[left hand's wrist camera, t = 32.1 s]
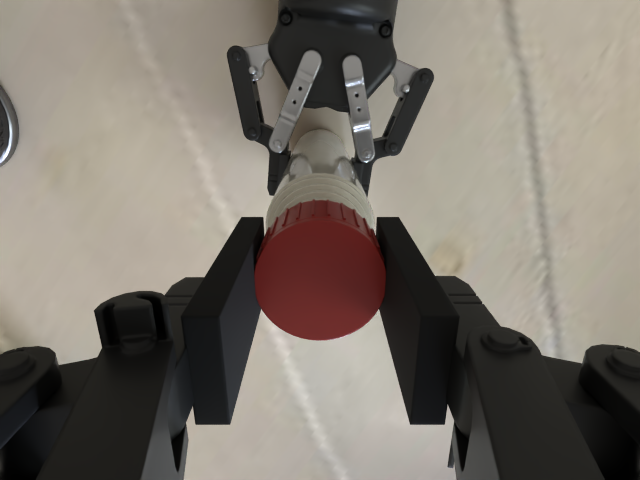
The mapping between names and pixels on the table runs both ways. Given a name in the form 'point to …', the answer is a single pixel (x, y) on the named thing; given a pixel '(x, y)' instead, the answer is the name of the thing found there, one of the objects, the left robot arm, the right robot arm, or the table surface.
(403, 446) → the table surface
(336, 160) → the bottle
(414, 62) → the table surface
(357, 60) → the right robot arm
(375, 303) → the cap
